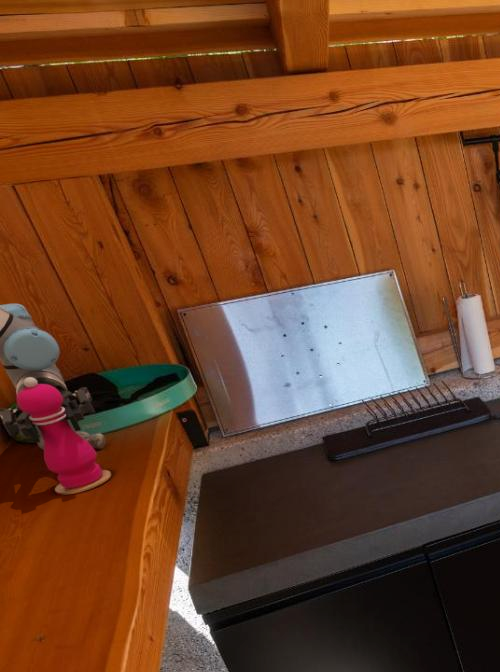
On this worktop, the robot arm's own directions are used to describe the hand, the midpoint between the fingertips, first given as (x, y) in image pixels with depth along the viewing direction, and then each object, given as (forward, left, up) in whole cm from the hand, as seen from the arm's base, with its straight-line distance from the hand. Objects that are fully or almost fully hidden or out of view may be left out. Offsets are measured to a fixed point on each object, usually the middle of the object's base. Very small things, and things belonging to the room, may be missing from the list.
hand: (54, 429), depth 129 cm
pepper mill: (-3, +4, -12) cm, 13 cm away
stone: (-15, +18, -12) cm, 27 cm away
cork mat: (-3, +4, -12) cm, 13 cm away
